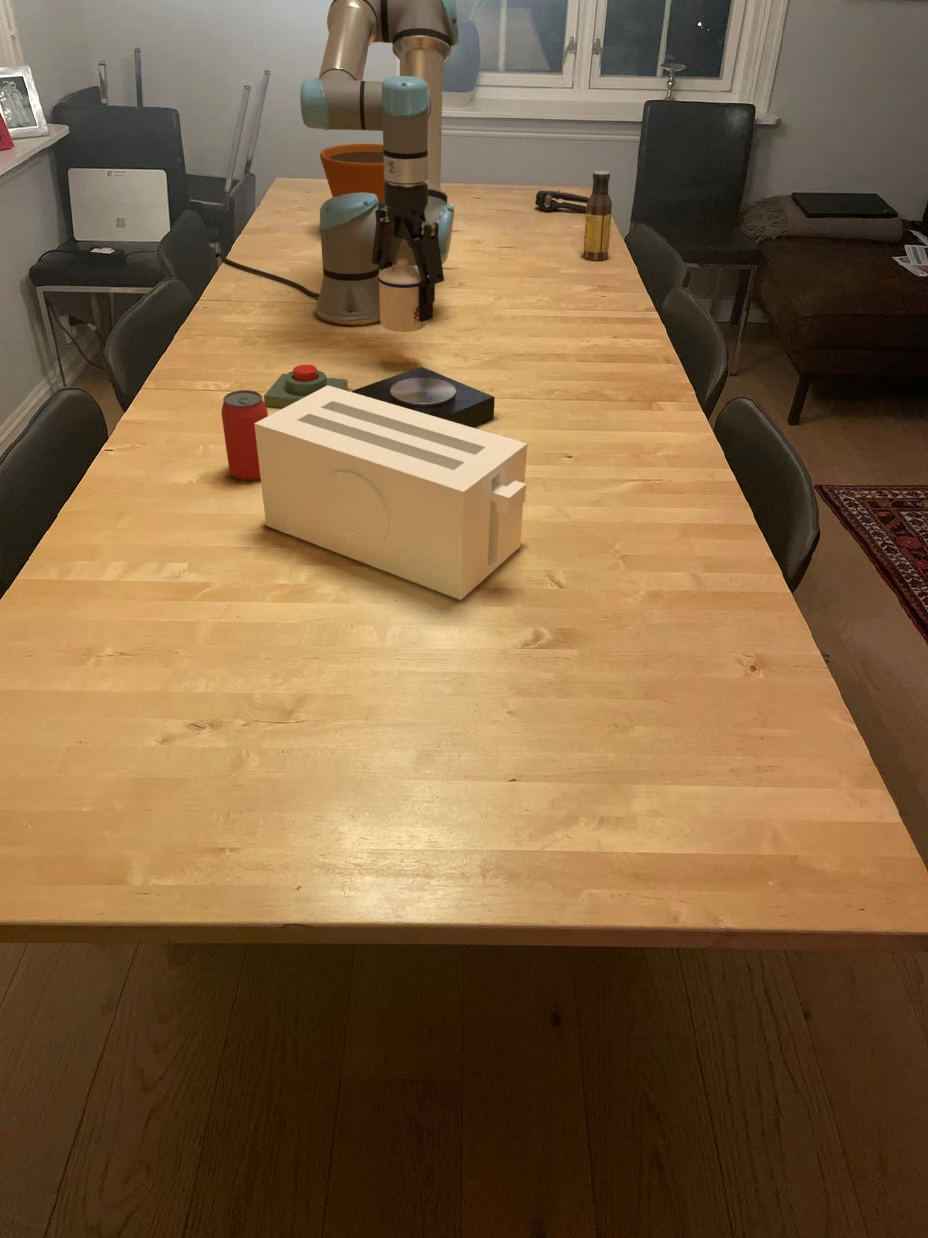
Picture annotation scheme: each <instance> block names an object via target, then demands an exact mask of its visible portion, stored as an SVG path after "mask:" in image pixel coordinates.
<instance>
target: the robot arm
mask: <svg viewBox="0 0 928 1238" xmlns="http://www.w3.org/2000/svg"><path fill="white" fill-rule="evenodd" d="M457 9H458V8H457V0H332V2H330V6H329V9H328V13H327V18H326V26H327V30H328V36H327V41H326V44H325V50H324V54H323V58H322V62H321V66H320V70H319V73H318V78H313V79H306V80H303V81H302V83H301V85H300V91H299V92H300V94H299V95H300V98H299V99H300V112H301V118H302V122H303V124H304V126H306V127H307V128H308V129H315V130H316V129H317V130H323V131H329V130H331V131H332V130H333V131H334V130H335V131H336V130H337V131H373V132H374V131H376V132H382V143H383V144H382V145H383V147H384V149H383V158H384V179H385V180H386V181H387V182H386V183H385V184H384V203H378V198H377V196H376V195H375V194H372V193H351V194H345V195H340V196H336V197H331V198H329V199H327V200H325V201H324V202H323V203H322V204H321V205H320V209H319V225H318V229H319V231H320V244H321V245H320V247H321V259H322V281H321V286H320V290H319V292H318V293H317V292H314V291H311V290H309V289H307V288H306V287H305V286H303V285H301V284H299V283H297V282H295V281H293V280H290V279H288V278H285V277H281V276H279V275H276V274H272V273H269V272H266V271H263V270H259V269H257V268H253V267H249V266H247V265H243V264H241V263H238V262H235V261H233V260H231V259H228V258H226V257H225V255H223V253H222V252H221V251H218V252H216V253H215V255H214V258H219V257H220V259H221V260H222V261H223V262H225V263H227V264H229V265H231V266H234V267H237V268H239V269H242V270H244V271H248V272H251V273H253V274H258V275H261V276H264V277H267V278H271V279H274V280H278V281H279V282H282V283H284V284H285V283H286V284H288V285H291V286H293V287H295V288H297V289H300V291H302V292H304V293H305V294H307V295H309V296H311V297H315V298H318V299H317V302H316V315H317V317H318V318H319V319H320V320H322V321H324V322H326V323H329V324H334V325H339V326H365V325H372V324H375V323H376V324H377V323H379V322H380V294H379V281H378V275H379V273H380V271H382V270H383V269H385V268H389V267H391V266H393V265H395V264H397V261H398V259H401V258H404V259H407V260H408V261H409V264H410V265H413V266H414V267H416V268H418V271H419V274H420V277H421V280H422V284H419V321H420V322H424V321H427V322H428V321H430V320H432V319H433V318H434V303H435V301H436V285H437V284H440V283H443V282H444V281H445V276H444V270H443V269H444V268H443V265H444V264H445V263H446V261H447V260H448V257H449V252H450V249H451V242H452V235H453V228H454V227H453V226H454V219H455V207H454V205H453V204H451V203H448V195H447V193H446V192H445V190H443V189H442V187H441V172H442V171H441V170H442V169H441V166H442V128H443V127H442V125H443V124H442V122H443V87H444V86H443V82H444V81H443V79H444V62H446V60H448V59H449V58H450V57H451V54H452V47H454V46H456V45H458V44H459V41H460V40H459V24H458V11H457ZM373 43H385V44H392V45H391V46H392V48H391V49H392V50H391V51H392V53H393V55H394V56H395V57H396V58H397V59H398V60H399V75H398V76H390V77H387V78H385V79H384V80H383V81H379V80H377V81H375V80H373V81H371V80H363V79H364V74H365V68H366V64H367V63H366V62H367V57H368V53H369V52H368V51H369V47H370V46H371V45H372V44H373ZM427 276H428V278H427Z"/></svg>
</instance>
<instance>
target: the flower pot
mask: <svg viewBox="0 0 928 1238" xmlns="http://www.w3.org/2000/svg"><path fill="white" fill-rule="evenodd" d="M383 149H384V147H383V144H382V143H379V144H378V143H352V144H351V143H350V144H349V143H348V144H342V145H341V144H340V145H334V146H330V147H327V148H324V149H323V150H321V151H320V154H319V157H320V162H321V165H322V167H323V171H324V174H325V177H326V181H327V183H328V187H329V190H330V193H331V196H332V197H331V198H333V197H336V196H340V195H345V194H351V193H372V194H375V195H376V196H377V198H378V203H384V184H385V183H386V182H387V181H386V180H385V179H384V158H383Z"/></svg>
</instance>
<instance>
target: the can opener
mask: <svg viewBox="0 0 928 1238" xmlns="http://www.w3.org/2000/svg"><path fill="white" fill-rule="evenodd" d="M535 195H536V196H535V201H534V203H535V205H536V206H537V207H539V208H540V209H541V210H543V211H546V212H550V211H553V210H558V209H563V210H564V209H565V210H570V211H573V212H578V213H581V214H582V213H584V214H586V208H587V205H586V206H585V205H581V204H577V203H582V204H587V202H588V199H589V198H590V197H588V196H584V195H580V194H575V193H570V192H564V191H563V192H561V190H560V189H557V190H539V191H537V192H536V193H535ZM557 200H562V202H558V201H557ZM566 201H567V202H566ZM571 202H577V203H571Z"/></svg>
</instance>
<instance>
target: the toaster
mask: <svg viewBox="0 0 928 1238" xmlns="http://www.w3.org/2000/svg"><path fill="white" fill-rule="evenodd" d="M254 425H255V433H256V442H257V451H258V460H259V468H260V477H261V478H260V485H261V495H262V503H263V510H264V512H263V513H264V520H265V526H266V527H268V528H271V529H274V530H276V531H279V532H282V533H284V534H287V535H290V536H293V537H295V538H298V539H300V540H303V541H305V542H308V543H311V544H313V545H315V546H318V547H321V548H324V549H326V550H328V551H332V552H334V553H337V554H339V555H342V556H344V557H347V558H350V559H353V560H355V561H358V562H360V563H363V564H365V565H369V566H370V567H373V568H376V569H378V570H380V571H382V572H383V571H384V572H386V573H389V574H391V575H394V576H397V577H399V578H402V579H403V580H406V581H409V582H412V583H415V584H417V585H420V586H423V587H426V588H428V589H430V590H434V591H436V592H439V593H441V594H443V595H447V596H449V597H451V598H454V599H456V600H459V601H462V600H463V599H464V598H465V597H466V596H468V594H470V593H471V592H472V591H473V590H474V589H475V588H476V587H477V586H479V585H480V584H481V583H482V582H483V581H485V579H486V578H488V576H490V575H491V574H492V573H493V572H494V571H495V570H496V569H498V567H499V566H501V565H502V564H503V563H505V561H506V560H508V559H509V557H511V556H512V555H513V554H514V553H515V552H517V550H519V549H520V547H521V540H522V525H523V513H524V512H523V511H524V503H525V502H526V495H527V483H525V482H526V469H527V468H526V467H527V452H528V443H526V442H523V441H520V440H517V439H513V438H509V437H506V436H502V435H499V434H495V433H492V432H489V431H485V430H482V429H479V428H475V427H473V428H472V427H468V426H465V425H462V424H458V423H455V422H451V421H448V420H445V419H441V418H438V417H434V416H431V415H428V414H424V413H421V412H417V411H414V410H411V409H407V408H404V407H400V406H397V405H394V404H390V403H387V402H383V401H380V400H376V399H373V398H370V397H366V396H363V395H359V394H356V393H353V392H352V391H349V390H348V391H345V390H342V389H339V388H335V387H332V386H328V385H327V386H325V387H324V388H322V389H320V390H318V391H316V392H314V393H312V394H310V395H308V396H306V397H304V398H302V399H300V400H298V401H297V402H295V403H293V404H291V405H289V406H287V407H285V408H280V409H279V410H277V411H276V412H274V413H272V414H270V415H268V417H266V418H264V419H262V420H260V421H258V422H256V423H254Z"/></svg>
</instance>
